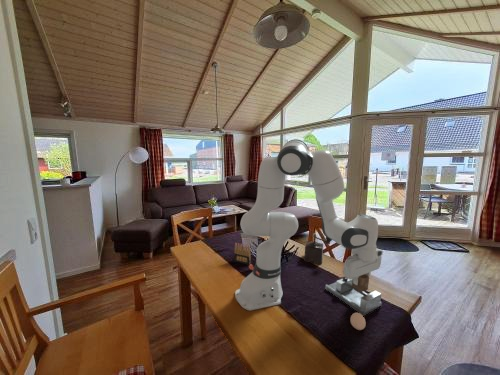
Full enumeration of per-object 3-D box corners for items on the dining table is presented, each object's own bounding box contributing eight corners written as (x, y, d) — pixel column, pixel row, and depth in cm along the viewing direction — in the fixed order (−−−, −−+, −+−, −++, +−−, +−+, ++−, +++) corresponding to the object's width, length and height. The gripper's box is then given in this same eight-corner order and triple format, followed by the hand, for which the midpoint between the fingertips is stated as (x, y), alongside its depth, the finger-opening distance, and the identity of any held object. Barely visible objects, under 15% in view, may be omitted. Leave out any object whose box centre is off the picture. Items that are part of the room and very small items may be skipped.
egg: (351, 320, 83) (353, 307, 82) (366, 327, 80) (367, 313, 79) (348, 328, 79) (349, 314, 78) (363, 336, 76) (364, 321, 75)
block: (361, 292, 89) (362, 279, 88) (351, 286, 93) (352, 273, 92) (367, 289, 91) (369, 276, 90) (358, 283, 95) (359, 271, 94)
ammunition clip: (250, 263, 126) (251, 244, 124) (249, 265, 124) (249, 245, 123) (235, 259, 131) (235, 241, 129) (233, 261, 129) (233, 242, 127)
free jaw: (340, 293, 96) (341, 281, 95) (335, 290, 98) (336, 279, 97) (353, 288, 100) (354, 276, 100) (348, 285, 103) (349, 274, 102)
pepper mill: (303, 261, 129) (305, 233, 126) (305, 254, 139) (307, 228, 137) (330, 267, 123) (332, 237, 121) (331, 258, 133) (332, 231, 131)
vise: (363, 316, 85) (365, 302, 84) (324, 289, 102) (325, 276, 101) (381, 306, 90) (382, 293, 90) (341, 282, 108) (342, 270, 107)
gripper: (353, 260, 82) (351, 293, 84) (385, 250, 91) (382, 280, 93) (340, 253, 87) (337, 284, 89) (371, 245, 96) (368, 273, 98)
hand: (360, 282), depth 91 cm, fingers closed on block, 4 cm apart
